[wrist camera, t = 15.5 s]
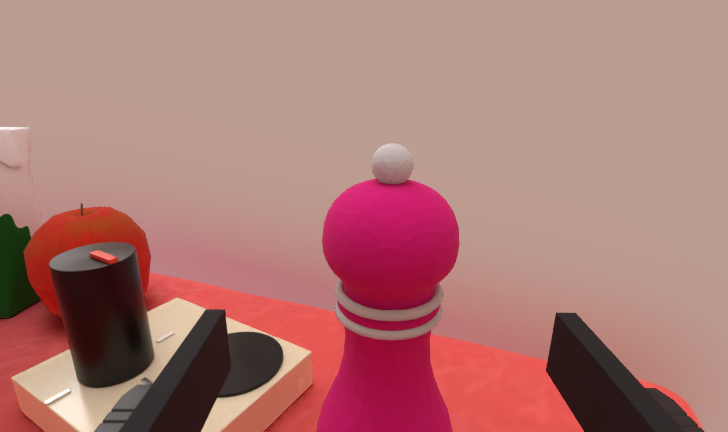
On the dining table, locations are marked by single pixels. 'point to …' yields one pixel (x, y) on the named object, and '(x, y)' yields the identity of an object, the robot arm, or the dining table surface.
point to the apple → (80, 244)
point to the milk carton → (16, 219)
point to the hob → (168, 330)
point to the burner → (251, 362)
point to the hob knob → (103, 312)
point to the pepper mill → (388, 299)
